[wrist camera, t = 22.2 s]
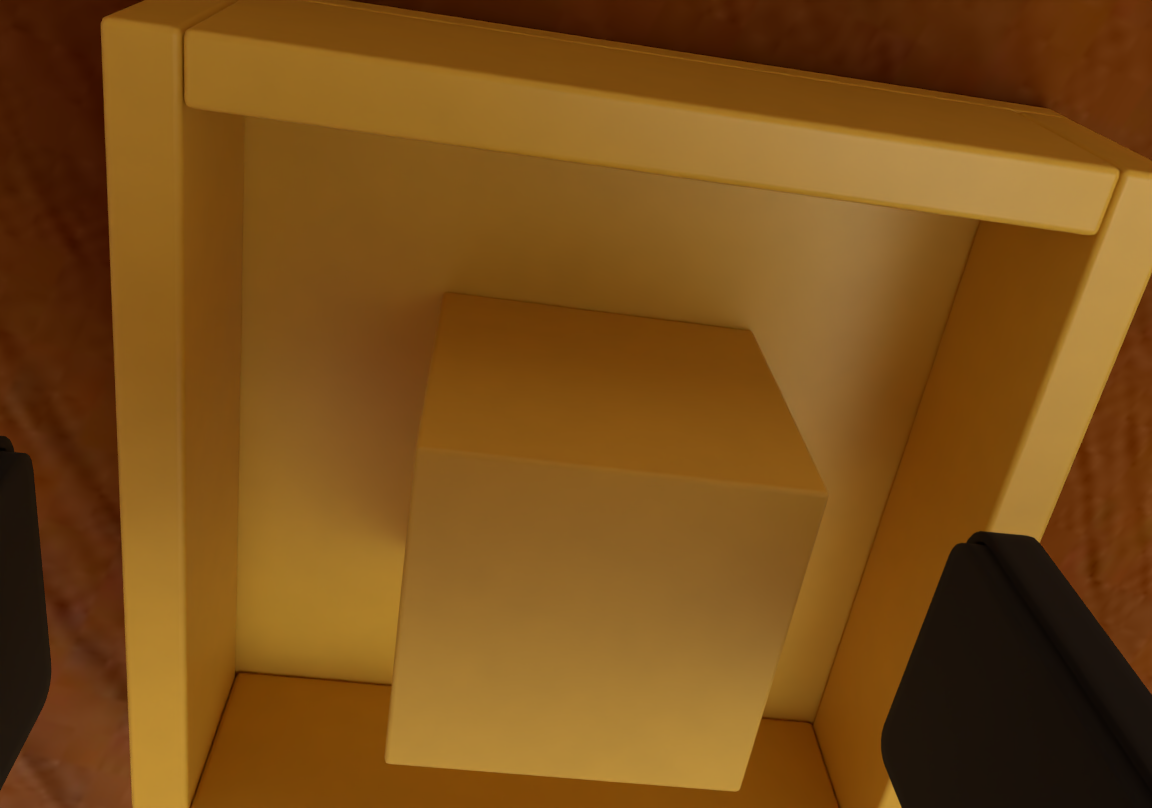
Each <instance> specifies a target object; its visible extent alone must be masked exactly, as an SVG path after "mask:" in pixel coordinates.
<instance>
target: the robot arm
mask: <svg viewBox="0 0 1152 808" xmlns="http://www.w3.org/2000/svg"><path fill="white" fill-rule="evenodd" d="M50 680H51V658H50V647H49V636H48V625H47V614H46V603H45V593H44V582H43V571H42V560H41V549H40V538H39V527H38V517H37V506H36V495H35V484H34V473H33V466H32V461H31V459H30V456H29V455H27V454H26V453H16V452H14V448H13V445H12V443H11V441H10V440H9V439H8V438H7V437H5V436H0V790H1V788H2V786H3V784H4V782H5V780H6V778H7V776H8V774H9V772H10V770H11V768H12V766H13V765H14V763H15V761H16V759H17V757H18V755H19V753H20V751H21V749H22V747H23V745H24V743H25V741H26V739H27V737H28V735H29V733H30V731H31V729H32V727H33V726H34V724H35V722H36V720H37V718H38V716H39V714H40V712H41V710H42V708H43V706H44V703H45V701H46V698H47V694H48V691H49V686H50ZM881 753H882V759H883V762H884V765H885V768H886V770H887V773H888V775H889V778H890V780H891V783H892V785H893V788H894V790H895V793H896V795H897V798H898V800H899V803H900V805H901V808H1152V695H1151V693H1150V692H1149V691H1148V689H1147V688H1146V687H1145V685H1144V684H1143V683H1142V681H1141V680H1140V678H1139V677H1138V676H1137V674H1136V673H1135V672H1134V670H1133V669H1132V668H1131V666H1130V665H1129V664H1128V662H1127V661H1126V659H1125V658H1124V657H1123V655H1122V654H1121V653H1120V651H1119V650H1118V649H1117V647H1116V646H1115V645H1114V643H1113V642H1112V641H1111V639H1110V638H1109V636H1108V635H1107V634H1106V632H1105V631H1104V630H1103V628H1102V627H1101V626H1100V624H1099V623H1098V622H1097V620H1096V619H1095V617H1094V616H1093V615H1092V613H1091V612H1090V611H1089V609H1088V608H1087V607H1086V605H1085V604H1084V603H1083V601H1082V600H1081V598H1080V597H1079V596H1078V594H1077V593H1076V592H1075V590H1074V589H1073V588H1072V586H1071V585H1070V584H1069V582H1068V581H1067V580H1066V578H1065V577H1064V575H1063V574H1062V573H1061V571H1060V570H1059V569H1058V567H1057V566H1056V565H1055V563H1054V562H1053V561H1052V559H1051V558H1050V556H1049V555H1048V554H1047V552H1046V551H1045V550H1044V548H1043V547H1042V546H1041V544H1040V543H1039V542H1038V541H1037V540H1036V539H1035V538H1034V537H1030V536H1027V535H1017V534H1006V533H996V532H986V531H979V532H976V533H974V534H973V535H972V536H971V537H970V538H969V539H968V540H967V542H966V543H959V544H956V545H955V546H954V547H953V548H952V550H951V552H950V554H949V556H948V559H947V562H946V564H945V567H944V569H943V572H942V575H941V577H940V580H939V582H938V585H937V588H936V590H935V593H934V596H933V598H932V601H931V603H930V606H929V609H928V611H927V614H926V616H925V619H924V622H923V624H922V627H921V629H920V632H919V635H918V637H917V640H916V642H915V645H914V648H913V650H912V653H911V655H910V658H909V661H908V663H907V666H906V669H905V671H904V674H903V676H902V679H901V682H900V684H899V687H898V689H897V692H896V695H895V697H894V700H893V702H892V705H891V708H890V710H889V713H888V715H887V718H886V721H885V723H884V726H883V730H882V735H881Z"/></svg>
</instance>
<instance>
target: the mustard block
mask: <svg viewBox="0 0 1152 808" xmlns="http://www.w3.org/2000/svg"><path fill="white" fill-rule="evenodd" d="M828 497H829V494H828V491H827V489H826V487H825V484H824V482H823V480H822V478H821V476H820V474H819V472H818V470H817V468H816V465H815V463H814V461H813V459H812V457H811V455H810V453H809V451H808V448H807V446H806V444H805V442H804V440H803V438H802V436H801V434H800V431H799V429H798V427H797V425H796V423H795V421H794V419H793V417H792V414H791V412H790V410H789V408H788V406H787V404H786V402H785V400H784V397H783V395H782V393H781V391H780V389H779V387H778V385H777V383H776V380H775V378H774V376H773V374H772V372H771V370H770V368H769V366H768V363H767V361H766V359H765V357H764V355H763V353H762V351H761V349H760V346H759V344H758V342H757V340H756V338H755V336H754V334H753V332H751V331H746V330H739V329H731V328H723V327H715V326H707V325H699V324H691V323H684V322H676V321H668V320H660V319H652V318H644V317H636V316H629V315H621V314H613V313H605V312H597V311H589V310H581V309H574V308H566V307H558V306H550V305H542V304H534V303H526V302H519V301H511V300H503V299H495V298H487V297H479V296H471V295H464V294H456V293H444V294H443V296H442V301H441V307H440V313H439V318H438V324H437V330H436V335H435V341H434V346H433V352H432V358H431V363H430V369H429V375H428V380H427V386H426V392H425V397H424V403H423V409H422V414H421V420H420V425H419V431H418V437H417V442H416V448H415V456H414V466H413V476H412V486H411V496H410V506H409V516H408V526H407V536H406V546H405V556H404V566H403V576H402V585H401V595H400V605H399V615H398V625H397V635H396V645H395V655H394V665H393V675H392V685H391V695H390V705H389V715H388V725H387V735H386V744H385V754H384V759H385V761H386V763H388V764H396V765H409V766H421V767H434V768H446V769H459V770H471V771H484V772H496V773H509V774H521V775H534V776H546V777H559V778H571V779H584V780H596V781H609V782H621V783H634V784H646V785H658V786H671V787H683V788H696V789H708V790H721V791H733V792H736V791H739V790H740V788H741V784H742V781H743V778H744V774H745V771H746V768H747V764H748V761H749V758H750V755H751V751H752V748H753V745H754V741H755V738H756V735H757V731H758V728H759V725H760V722H761V718H762V715H763V712H764V708H765V705H766V702H767V698H768V695H769V692H770V689H771V685H772V682H773V679H774V675H775V672H776V669H777V665H778V662H779V659H780V656H781V652H782V649H783V646H784V642H785V639H786V636H787V632H788V629H789V626H790V623H791V619H792V616H793V613H794V609H795V606H796V603H797V599H798V596H799V593H800V590H801V586H802V583H803V580H804V576H805V573H806V570H807V567H808V563H809V560H810V557H811V553H812V550H813V547H814V543H815V540H816V537H817V534H818V530H819V527H820V524H821V520H822V517H823V514H824V510H825V507H826V504H827V501H828Z"/></svg>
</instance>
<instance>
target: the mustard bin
mask: <svg viewBox="0 0 1152 808" xmlns="http://www.w3.org/2000/svg"><path fill="white" fill-rule="evenodd" d="M101 48H102V73H103V97H104V122H105V147H106V172H107V197H108V222H109V246H110V271H111V296H112V321H113V346H114V370H115V395H116V420H117V445H118V470H119V495H120V519H121V544H122V569H123V594H124V619H125V644H126V668H127V693H128V718H129V743H130V768H131V793H132V808H901V805H900V803H899V800H898V798H897V795H896V793H895V790H894V788H893V785H892V783H891V780H890V778H889V775H888V773H887V770H886V768H885V765H884V762H883V759H882V753H881V735H882V730H883V726H884V723H885V721H886V718H887V715H888V713H889V710H890V708H891V705H892V702H893V700H894V697H895V695H896V692H897V689H898V687H899V684H900V682H901V679H902V676H903V674H904V671H905V669H906V666H907V663H908V661H909V658H910V655H911V653H912V650H913V648H914V645H915V642H916V640H917V637H918V635H919V632H920V629H921V627H922V624H923V622H924V619H925V616H926V614H927V611H928V609H929V606H930V603H931V601H932V598H933V596H934V593H935V590H936V588H937V585H938V582H939V580H940V577H941V575H942V572H943V569H944V567H945V564H946V562H947V559H948V556H949V554H950V552H951V550H952V548H953V547H954V546H955V545H956V544H959V543H966V542H967V540H968V539H969V538H970V537H971V536H972V535H973V534H974V533H976V532H979V531H986V532H996V533H1006V534H1017V535H1027V536H1030V537H1034V538H1035V539H1036V540H1037V541H1038V542H1039V543H1040V541H1041V538H1042V536H1043V534H1044V531H1045V529H1046V526H1047V524H1048V522H1049V519H1050V517H1051V514H1052V512H1053V510H1054V507H1055V505H1056V502H1057V500H1058V497H1059V495H1060V493H1061V490H1062V488H1063V485H1064V483H1065V481H1066V478H1067V476H1068V473H1069V471H1070V469H1071V466H1072V464H1073V461H1074V459H1075V456H1076V454H1077V452H1078V449H1079V447H1080V444H1081V442H1082V440H1083V437H1084V435H1085V432H1086V430H1087V428H1088V425H1089V423H1090V420H1091V418H1092V415H1093V413H1094V411H1095V408H1096V406H1097V403H1098V401H1099V399H1100V396H1101V394H1102V391H1103V389H1104V387H1105V384H1106V382H1107V379H1108V377H1109V374H1110V372H1111V370H1112V367H1113V365H1114V362H1115V360H1116V358H1117V355H1118V353H1119V350H1120V348H1121V346H1122V343H1123V341H1124V338H1125V336H1126V333H1127V331H1128V329H1129V326H1130V324H1131V321H1132V319H1133V317H1134V314H1135V312H1136V309H1137V307H1138V304H1139V302H1140V300H1141V297H1142V295H1143V292H1144V290H1145V288H1146V285H1147V283H1148V280H1149V278H1150V276H1151V273H1152V161H1151V160H1149V159H1147V158H1145V157H1143V156H1141V155H1139V154H1137V153H1135V152H1133V151H1131V150H1129V149H1127V148H1125V147H1123V146H1121V145H1120V144H1118V143H1116V142H1114V141H1112V140H1110V139H1108V138H1106V137H1104V136H1102V135H1100V134H1098V133H1096V132H1094V131H1092V130H1090V129H1088V128H1086V127H1084V126H1082V125H1080V124H1078V123H1076V122H1074V121H1072V120H1070V119H1068V118H1066V117H1065V116H1063V115H1061V114H1059V113H1057V112H1055V111H1053V110H1051V109H1048V108H1041V107H1035V106H1029V105H1022V104H1016V103H1009V102H1003V101H996V100H990V99H983V98H977V97H970V96H964V95H957V94H951V93H944V92H938V91H932V90H925V89H919V88H912V87H906V86H899V85H893V84H886V83H880V82H873V81H867V80H860V79H854V78H847V77H841V76H835V75H828V74H822V73H815V72H809V71H802V70H796V69H789V68H783V67H776V66H770V65H763V64H757V63H751V62H744V61H738V60H731V59H725V58H718V57H712V56H705V55H699V54H692V53H686V52H679V51H673V50H666V49H660V48H654V47H647V46H641V45H634V44H628V43H621V42H615V41H608V40H602V39H595V38H589V37H582V36H576V35H569V34H563V33H557V32H550V31H544V30H537V29H531V28H524V27H518V26H511V25H505V24H498V23H492V22H485V21H479V20H472V19H466V18H460V17H453V16H447V15H440V14H434V13H427V12H421V11H414V10H408V9H401V8H395V7H388V6H382V5H375V4H369V3H363V2H356V1H350V0H144V1H142V2H139V3H137V4H134V5H132V6H130V7H127V8H125V9H122V10H120V11H118V12H115V13H113V14H110V15H108V16H105V17H103V19H102V22H101ZM444 293H456V294H464V295H471V296H479V297H487V298H495V299H503V300H511V301H519V302H526V303H534V304H542V305H550V306H558V307H566V308H574V309H581V310H589V311H597V312H605V313H613V314H621V315H629V316H636V317H644V318H652V319H660V320H668V321H676V322H684V323H691V324H699V325H707V326H715V327H723V328H731V329H739V330H746V331H751V332H753V334H754V336H755V338H756V340H757V342H758V344H759V346H760V349H761V351H762V353H763V355H764V357H765V359H766V361H767V363H768V366H769V368H770V370H771V372H772V374H773V376H774V378H775V380H776V383H777V385H778V387H779V389H780V391H781V393H782V395H783V397H784V400H785V402H786V404H787V406H788V408H789V410H790V412H791V414H792V417H793V419H794V421H795V423H796V425H797V427H798V429H799V431H800V434H801V436H802V438H803V440H804V442H805V444H806V446H807V448H808V451H809V453H810V455H811V457H812V459H813V461H814V463H815V465H816V468H817V470H818V472H819V474H820V476H821V478H822V480H823V482H824V484H825V487H826V489H827V491H828V494H829V497H828V501H827V504H826V507H825V510H824V514H823V517H822V520H821V524H820V527H819V530H818V534H817V537H816V540H815V543H814V547H813V550H812V553H811V557H810V560H809V563H808V567H807V570H806V573H805V576H804V580H803V583H802V586H801V590H800V593H799V596H798V599H797V603H796V606H795V609H794V613H793V616H792V619H791V623H790V626H789V629H788V632H787V636H786V639H785V642H784V646H783V649H782V652H781V656H780V659H779V662H778V665H777V669H776V672H775V675H774V679H773V682H772V685H771V689H770V692H769V695H768V698H767V702H766V705H765V708H764V712H763V715H762V718H761V722H760V725H759V728H758V731H757V735H756V738H755V741H754V745H753V748H752V751H751V755H750V758H749V761H748V764H747V768H746V771H745V774H744V778H743V781H742V784H741V788H740V790H739V791H736V792H733V791H721V790H708V789H696V788H683V787H671V786H658V785H646V784H634V783H621V782H609V781H596V780H584V779H571V778H559V777H546V776H534V775H521V774H509V773H496V772H484V771H471V770H459V769H446V768H434V767H421V766H409V765H396V764H388V763H386V761H385V759H384V754H385V744H386V735H387V725H388V715H389V705H390V695H391V685H392V675H393V665H394V655H395V645H396V635H397V625H398V615H399V605H400V595H401V585H402V576H403V566H404V556H405V546H406V536H407V526H408V516H409V506H410V496H411V486H412V476H413V466H414V456H415V448H416V442H417V437H418V431H419V425H420V420H421V414H422V409H423V403H424V397H425V392H426V386H427V380H428V375H429V369H430V363H431V358H432V352H433V346H434V341H435V335H436V330H437V324H438V318H439V313H440V307H441V301H442V296H443V294H444Z"/></svg>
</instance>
